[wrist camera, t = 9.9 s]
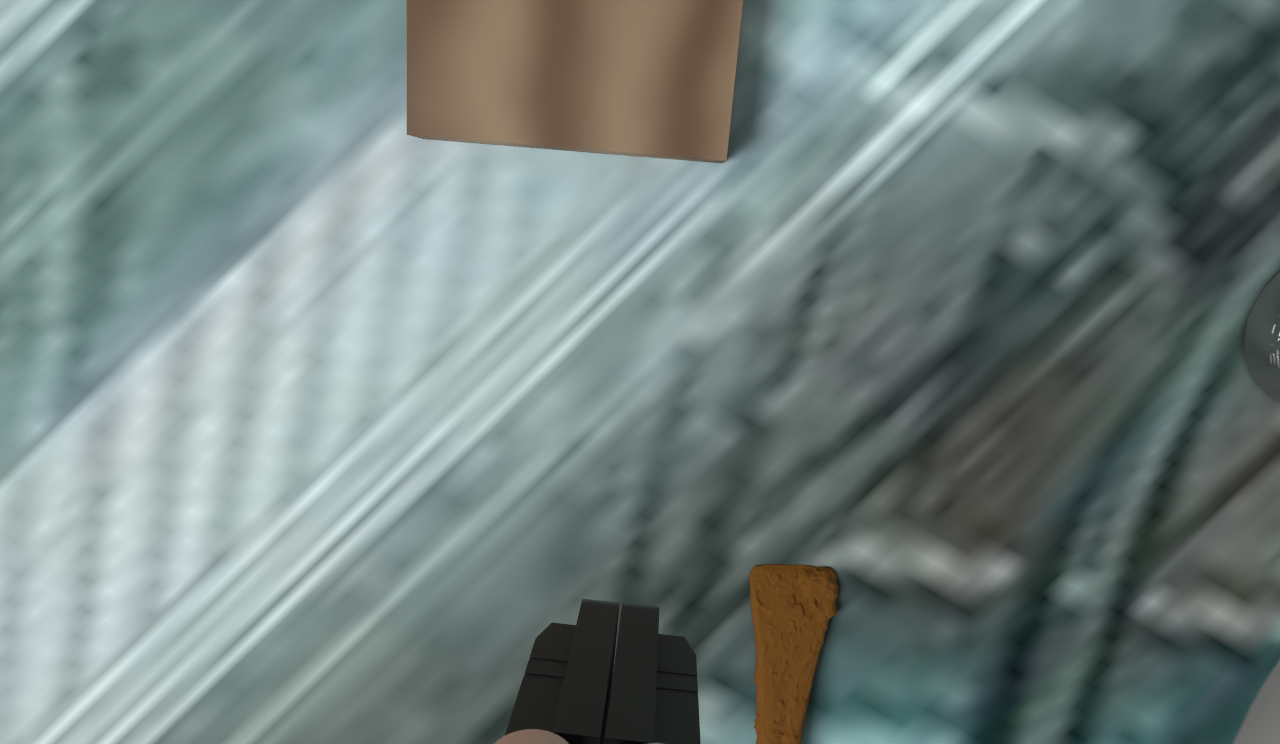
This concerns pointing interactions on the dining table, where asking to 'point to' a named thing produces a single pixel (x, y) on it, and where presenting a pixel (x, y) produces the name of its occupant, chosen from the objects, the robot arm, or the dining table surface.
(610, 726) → the robot arm
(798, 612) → the primitive tool
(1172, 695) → the dining table surface
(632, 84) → the board
